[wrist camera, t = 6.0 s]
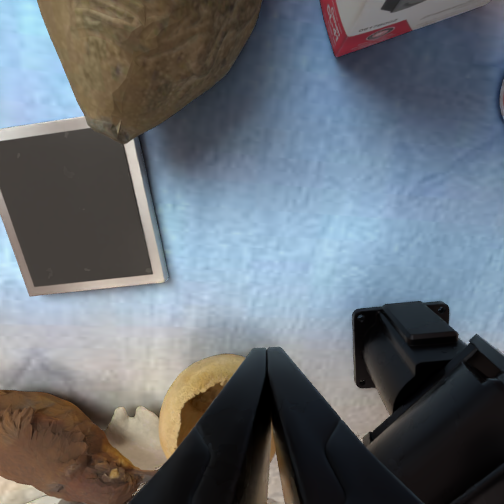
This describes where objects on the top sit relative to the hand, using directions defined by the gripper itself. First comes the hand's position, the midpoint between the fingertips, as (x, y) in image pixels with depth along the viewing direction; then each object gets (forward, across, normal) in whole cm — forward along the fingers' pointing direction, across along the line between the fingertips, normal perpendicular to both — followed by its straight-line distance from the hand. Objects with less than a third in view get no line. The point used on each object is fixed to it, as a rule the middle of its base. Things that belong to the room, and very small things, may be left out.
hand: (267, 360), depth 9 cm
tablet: (+12, +12, -4) cm, 18 cm away
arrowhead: (+11, +9, +13) cm, 19 cm away
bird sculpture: (+12, +19, +12) cm, 26 cm away
